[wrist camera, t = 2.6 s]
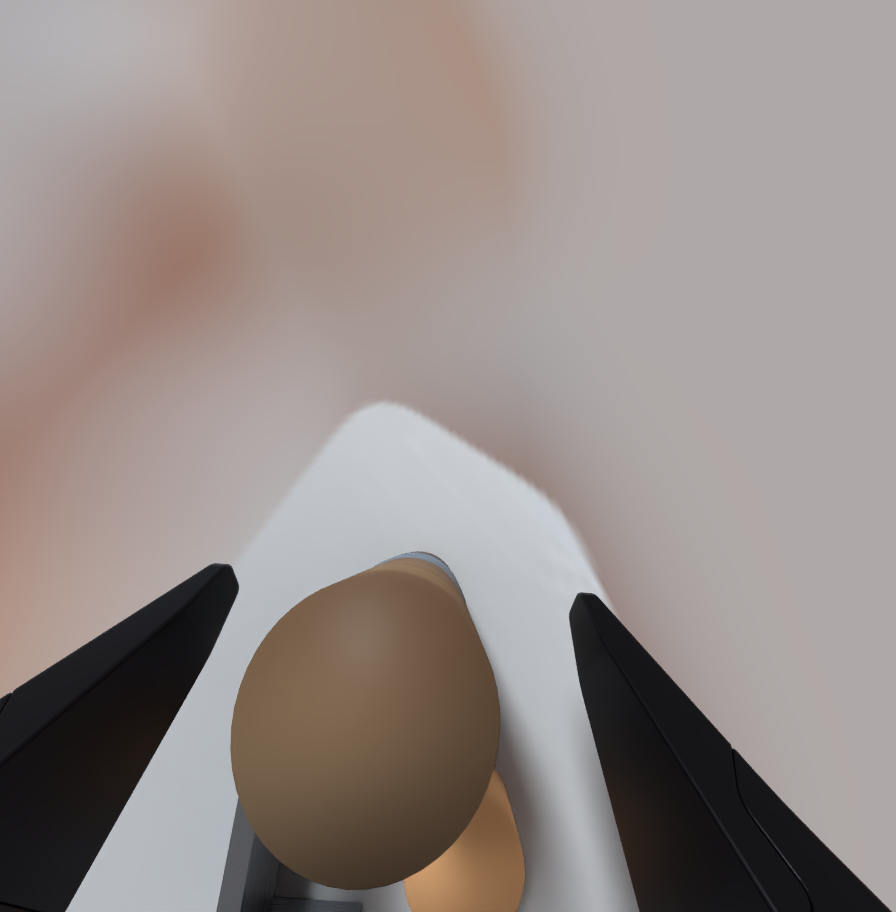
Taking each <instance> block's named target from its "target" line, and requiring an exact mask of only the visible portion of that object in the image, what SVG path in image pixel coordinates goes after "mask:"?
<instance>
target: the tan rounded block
mask: <svg viewBox="0 0 896 912" xmlns="http://www.w3.org/2000/svg"><path fill="white" fill-rule="evenodd" d="M524 879H525V864H524V856H523V851H522V847H521V843H520V839H519V835H518V832H517V828H516V824H515V821H514V817H513V813H512V809H511V806H510V802H509V798H508V795H507V791H506V788H505V785H504V783H503V781H502V779H501V777H500V775H499V774H498V772H497V771H496V770H495V768H494V770H493V773H492V776H491V779H490V782H489V785H488V789H487V791H486V793H485V795H484V797H483V800H482V802H481V804H480V806H479V808H478V810H477V811H476V813H475V815H474V816H473V818H472V820H471V821H470V823H469V825H468V826H467V828H466V829H465V830H464V831H463V833H462V834H461V835H460V836H459V838H458V839H457V840H456V841H455V843H454V844H453V845H452V846H451V847H450V848H449V849H448V850H446V851H445V852H444V853H443V854H442V855H441V856H440V857H439V858H438V859H437V860H435V861H434V862H432V863H431V864H430V865H428V866H427V867H426V868H424V869H423V870H421V871H419V872H418V873H416V874H414V875H412V876H410V877H408V878H406V879H404V886H405V892H406V897H407V900H408V904H409V907H410V909H411V911H412V912H516V911H517V909H518V906H519V904H520V901H521V897H522V894H523V888H524Z"/></svg>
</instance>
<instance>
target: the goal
mask: <svg viewBox="0 0 896 912" xmlns="http://www.w3.org/2000/svg"><path fill="white" fill-rule="evenodd" d="M279 862H280V861H279V860H278V859H277V858H276V857H275V856H274V855H273V854H272V853H271V852H270V851H269V850H268V849H267V848H266V847H265V846H264V845H263V843H262V842H261V840H260V839H259V837H258V836H257V834H256V833H255V831H254V830H253V828H252V827H251V825H250V823H249V821H248V819H247V817H246V815H245V813H244V811H243V808H242V805H241V802H240V799H239V798H238V803H237V808H236V813H235V819H234V824H233V829H232V834H231V839H230V844H229V850H228V855H227V860H226V865H225V870H224V875H223V881H222V886H221V891H220V896H219V901H218V906H217V912H361V906H362V903H348V902H334V901H320V900H307V899H293V898H279V897H274V893H275V887H276V881H277V874H278V868H279Z"/></svg>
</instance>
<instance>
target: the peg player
mask: <svg viewBox="0 0 896 912" xmlns="http://www.w3.org/2000/svg"><path fill="white" fill-rule="evenodd" d="M499 733H500V707H499V700H498V693H497V686H496V683H495V679H494V675H493V671H492V668H491V665H490V662H489V660H488V657H487V655H486V652H485V650H484V647H483V645H482V643H481V640H480V638H479V635H478V633H477V631H476V628H475V626H474V623H473V621H472V619H471V616H470V614H469V611H468V609H467V605H466V601H465V598H464V596H463V593H462V591H461V588H460V586H459V584H458V582H457V580H456V578H455V576H454V574H453V573H452V571H451V570H450V568H449V567H448V566H447V564H446V563H445V562H444V561H442V560H441V559H440V558H438V557H437V556H435V555H433V554H430V553H427V552H411V553H405V554H402V555H399V556H396V557H393V558H391V559H388V560H386V561H383V562H381V563H380V564H378V565H376V566H375V567H373V568H371V569H368V570H366V571H364V572H361V573H359V574H356V575H354V576H352V577H349V578H347V579H344V580H342V581H340V582H337V583H335V584H332V585H330V586H328V587H325V588H323V589H321V590H319V591H317V592H315V593H314V594H312V595H310V596H308V597H307V598H305V599H304V600H302V601H301V602H300V603H298V604H297V605H296V606H294V607H293V608H292V609H291V610H290V611H289V612H287V613H286V614H285V615H284V616H283V617H282V618H281V619H280V620H279V621H278V622H277V623H276V625H275V626H274V627H273V628H272V629H271V631H270V632H269V633H268V634H267V635H266V637H265V638H264V640H263V641H262V643H261V644H260V646H259V647H258V649H257V650H256V652H255V654H254V656H253V658H252V660H251V662H250V664H249V666H248V667H247V670H246V672H245V675H244V677H243V680H242V683H241V685H240V688H239V692H238V695H237V699H236V703H235V707H234V713H233V720H232V726H231V761H232V771H233V776H234V781H235V786H236V790H237V793H238V796H239V799H240V802H241V805H242V808H243V811H244V813H245V815H246V817H247V819H248V821H249V823H250V825H251V827H252V828H253V830H254V831H255V833H256V834H257V836H258V837H259V839H260V840H261V842H262V843H263V845H264V846H265V847H266V848H267V849H268V850H269V851H270V852H271V853H272V854H273V855H274V856H275V857H276V858H277V859H278V860H279V861H280V862H281V863H283V864H284V865H285V866H287V867H288V868H289V869H290V870H292V871H293V872H295V873H297V874H299V875H301V876H302V877H304V878H306V879H308V880H310V881H313V882H316V883H319V884H321V885H324V886H327V887H333V888H339V889H346V890H365V889H372V888H377V887H383V886H387V885H390V884H393V883H396V882H399V881H401V880H404V879H406V878H408V877H410V876H412V875H414V874H416V873H418V872H419V871H421V870H423V869H424V868H426V867H427V866H428V865H430V864H431V863H432V862H434V861H435V860H437V859H438V858H439V857H440V856H441V855H442V854H443V853H444V852H445V851H446V850H448V849H449V848H450V847H451V846H452V845H453V844H454V843H455V841H456V840H457V839H458V838H459V836H460V835H461V834H462V833H463V831H464V830H465V829H466V828H467V826H468V825H469V823H470V821H471V820H472V818H473V816H474V815H475V813H476V811H477V810H478V808H479V806H480V804H481V802H482V800H483V797H484V795H485V793H486V791H487V789H488V785H489V782H490V779H491V776H492V773H493V770H494V766H495V761H496V756H497V751H498V744H499Z"/></svg>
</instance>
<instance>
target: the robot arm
mask: <svg viewBox="0 0 896 912" xmlns="http://www.w3.org/2000/svg"><path fill="white" fill-rule="evenodd" d="M238 591H239V584H238V581H237V578H236V576H235V573H234V571H233V568H232V566H231V565H229V564H218V563H214V564H211V565H209V566H207V567H206V568H204V569H203V570H201V571H200V572H198V573H197V574H195V575H193V576H192V577H190V578H189V579H187V580H186V581H184V582H182V583H181V584H179V585H178V586H176V587H175V588H173V589H171V590H170V591H168V592H167V593H165V594H164V595H162V596H160V597H159V598H157V599H156V600H154V601H153V602H151V603H150V604H148V605H146V606H145V607H143V608H142V609H140V610H139V611H137V612H135V613H134V614H132V615H131V616H129V617H128V618H126V619H125V620H123V621H122V622H120V623H118V624H117V625H115V626H113V627H112V628H110V629H109V630H107V631H106V632H104V633H102V634H101V635H99V636H98V637H96V638H95V639H93V640H92V641H90V642H88V643H87V644H85V645H84V646H82V647H81V648H79V649H77V650H76V651H74V652H73V653H71V654H70V655H68V656H67V657H65V658H63V659H62V660H60V661H59V662H57V663H56V664H54V665H52V666H51V667H49V668H48V669H46V670H45V671H43V672H41V673H40V674H38V675H37V676H35V677H34V678H32V679H30V680H29V681H27V682H26V683H24V684H23V685H21V686H19V687H18V688H16V689H15V690H14V691H13V693H9V694H7V695H5V696H4V697H2V698H1V699H0V912H65V911H66V909H67V908H68V906H69V904H70V902H71V901H72V899H73V897H74V895H75V894H76V892H77V890H78V888H79V886H80V885H81V883H82V881H83V879H84V878H85V876H86V874H87V872H88V871H89V869H90V867H91V865H92V863H93V862H94V860H95V858H96V856H97V855H98V853H99V851H100V849H101V847H102V846H103V844H104V842H105V840H106V839H107V837H108V835H109V833H110V832H111V830H112V828H113V826H114V824H115V823H116V821H117V819H118V817H119V816H120V814H121V812H122V810H123V809H124V807H125V805H126V803H127V801H128V800H129V798H130V796H131V794H132V793H133V791H134V789H135V787H136V785H137V784H138V782H139V780H140V778H141V777H142V775H143V773H144V771H145V770H146V768H147V766H148V764H149V762H150V761H151V759H152V757H153V755H154V754H155V752H156V750H157V748H158V747H159V745H160V743H161V741H162V739H163V738H164V736H165V734H166V732H167V731H168V729H169V727H170V725H171V723H172V722H173V720H174V718H175V716H176V715H177V713H178V711H179V709H180V708H181V706H182V704H183V702H184V700H185V699H186V697H187V695H188V693H189V692H190V690H191V688H192V686H193V685H194V683H195V681H196V679H197V677H198V676H199V674H200V672H201V670H202V669H203V667H204V665H205V663H206V661H207V659H208V658H209V656H210V654H211V652H212V650H213V648H214V645H215V643H216V641H217V639H218V637H219V634H220V632H221V630H222V628H223V625H224V623H225V621H226V619H227V617H228V614H229V612H230V610H231V608H232V605H233V603H234V601H235V599H236V596H237V594H238ZM569 621H570V627H571V634H572V640H573V646H574V652H575V658H576V665H577V671H578V677H579V682H580V687H581V691H582V695H583V699H584V703H585V706H586V710H587V714H588V718H589V722H590V725H591V729H592V733H593V737H594V741H595V744H596V748H597V752H598V756H599V759H600V763H601V767H602V771H603V775H604V778H605V782H606V786H607V790H608V794H609V797H610V801H611V805H612V809H613V813H614V816H615V820H616V824H617V828H618V832H619V835H620V839H621V843H622V847H623V850H624V854H625V858H626V862H627V866H628V869H629V873H630V877H631V881H632V885H633V888H634V892H635V896H636V900H637V904H638V907H639V911H640V912H892V911H890V909H889V908H888V907H887V906H885V904H883V903H882V901H881V900H880V899H878V897H877V896H876V895H875V894H874V893H873V892H872V891H871V890H870V889H868V887H867V886H866V885H865V884H864V883H863V882H861V880H860V879H859V878H858V877H857V876H856V875H855V874H854V873H853V872H852V871H850V869H849V868H848V867H847V866H846V865H845V864H844V863H842V861H841V860H840V859H839V858H838V857H837V856H836V855H835V854H834V853H833V852H831V850H830V849H829V848H828V847H826V845H825V844H824V843H823V842H822V841H821V840H820V839H819V838H818V837H817V836H816V835H815V834H814V833H813V832H812V831H811V830H810V829H809V828H808V827H807V826H806V825H805V824H804V823H803V822H802V821H801V820H800V819H799V818H798V817H797V816H796V815H795V813H794V812H793V811H792V810H791V809H790V808H789V807H788V806H787V805H786V804H785V803H784V802H783V801H782V800H781V799H780V798H779V797H778V796H777V795H776V794H775V792H774V791H773V790H772V789H771V788H770V787H769V786H768V785H767V784H766V783H765V782H764V781H763V779H762V778H761V777H760V776H759V775H758V774H757V773H756V772H755V771H754V770H753V769H752V767H751V766H750V765H749V764H748V763H747V762H746V761H745V760H744V759H743V757H742V756H741V755H740V754H739V753H738V752H737V751H736V750H735V749H732V747H731V744H730V743H729V742H728V741H727V740H726V739H725V738H724V736H723V735H722V734H721V733H720V732H719V731H718V730H717V729H716V728H715V726H714V725H713V724H712V723H711V722H710V721H709V720H708V719H707V718H706V717H705V715H704V714H703V713H702V712H701V711H700V710H699V709H698V708H697V706H696V705H695V704H694V703H693V702H692V701H691V700H690V699H689V698H688V696H687V695H686V694H685V693H684V692H683V691H682V690H681V689H680V688H679V686H677V684H676V683H675V682H674V681H673V680H672V679H671V678H670V676H669V675H668V674H667V673H666V672H665V671H664V670H663V669H662V668H661V666H660V665H659V664H658V663H657V662H656V661H655V660H654V659H653V658H652V656H651V655H650V654H649V653H648V652H647V651H646V650H645V649H644V648H643V646H642V645H640V643H639V642H638V641H637V640H636V639H635V638H634V636H633V635H632V634H631V633H630V632H629V631H628V630H627V629H626V628H625V626H624V625H623V624H622V623H621V622H620V621H619V620H618V619H617V618H616V616H615V615H614V614H613V613H612V612H611V611H610V610H609V609H608V608H607V606H606V605H605V604H604V603H603V602H602V601H601V600H600V599H599V598H598V597H597V596H596V595H595V594H592V593H578V594H577V596H576V598H575V600H574V603H573V605H572V607H571V610H570V613H569Z"/></svg>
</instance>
